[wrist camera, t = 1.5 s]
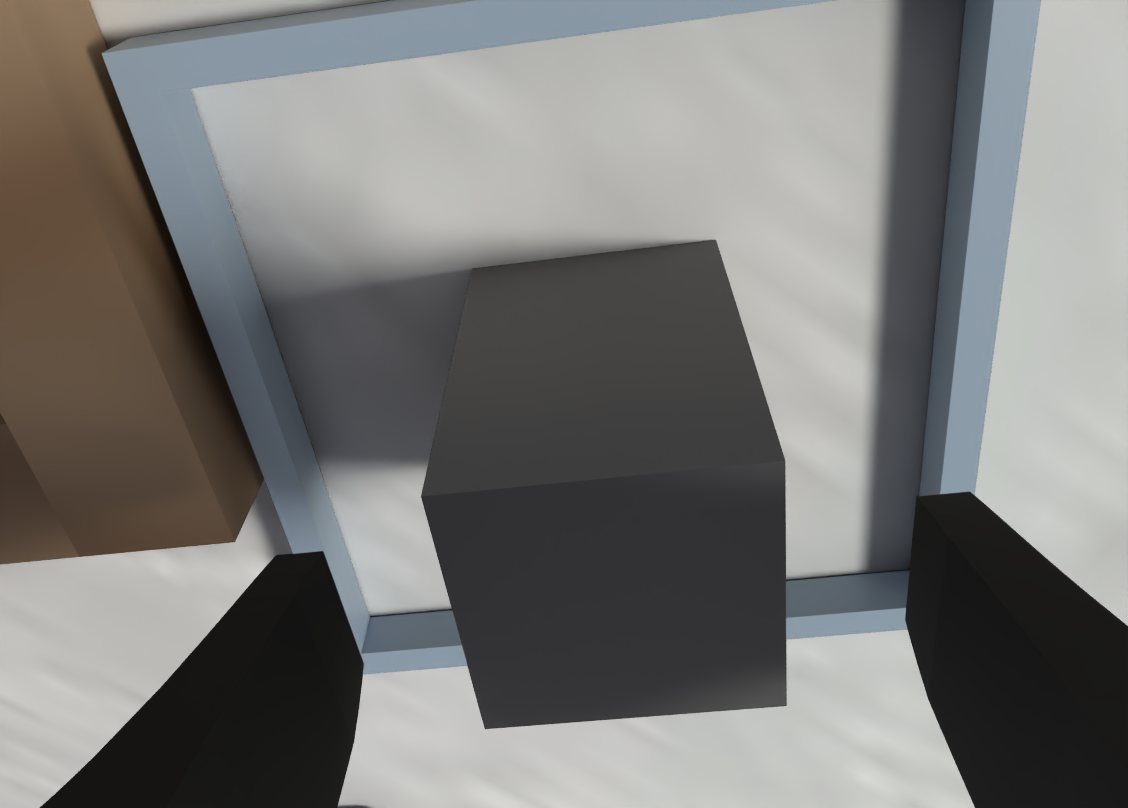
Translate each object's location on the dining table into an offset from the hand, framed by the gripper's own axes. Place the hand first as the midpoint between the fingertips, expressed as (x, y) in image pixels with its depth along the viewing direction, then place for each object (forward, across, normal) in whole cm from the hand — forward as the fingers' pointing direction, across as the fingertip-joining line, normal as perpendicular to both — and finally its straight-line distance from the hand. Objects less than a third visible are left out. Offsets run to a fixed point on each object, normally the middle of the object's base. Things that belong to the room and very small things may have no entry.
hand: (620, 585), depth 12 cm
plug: (+6, 0, 0) cm, 6 cm away
